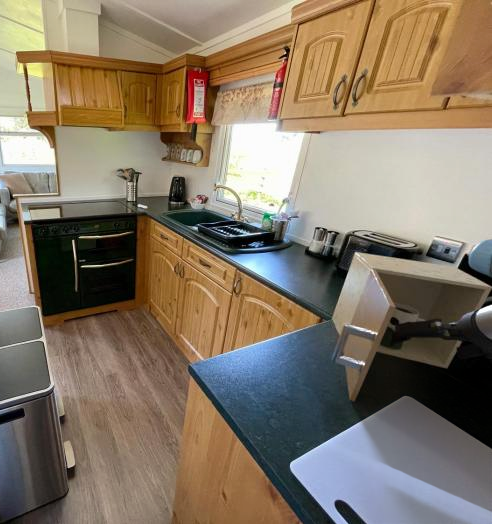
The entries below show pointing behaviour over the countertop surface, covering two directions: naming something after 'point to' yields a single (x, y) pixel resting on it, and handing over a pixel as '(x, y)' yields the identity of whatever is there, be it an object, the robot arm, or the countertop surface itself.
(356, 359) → the cupboard door
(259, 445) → the countertop surface
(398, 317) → the character mug
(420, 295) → the cupboard
